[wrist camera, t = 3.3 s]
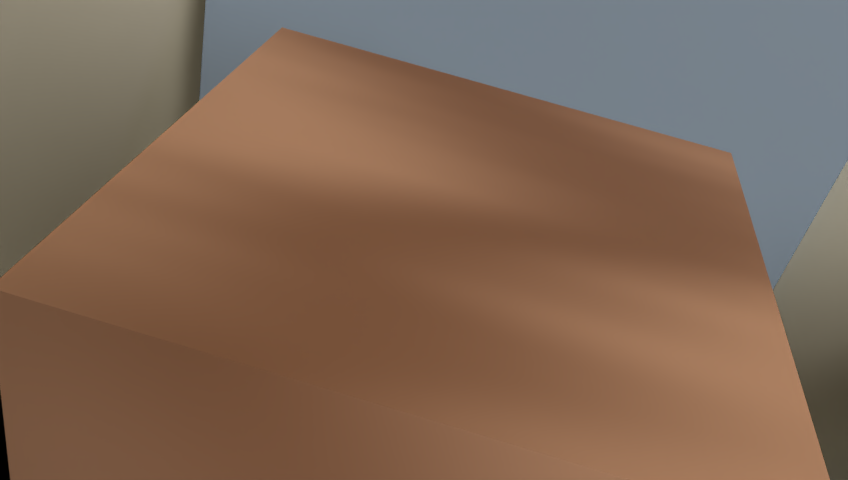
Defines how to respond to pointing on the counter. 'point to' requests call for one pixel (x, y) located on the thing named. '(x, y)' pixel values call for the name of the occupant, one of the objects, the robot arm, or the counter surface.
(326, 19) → the board
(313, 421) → the terracotta block
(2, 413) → the robot arm
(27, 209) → the counter surface
